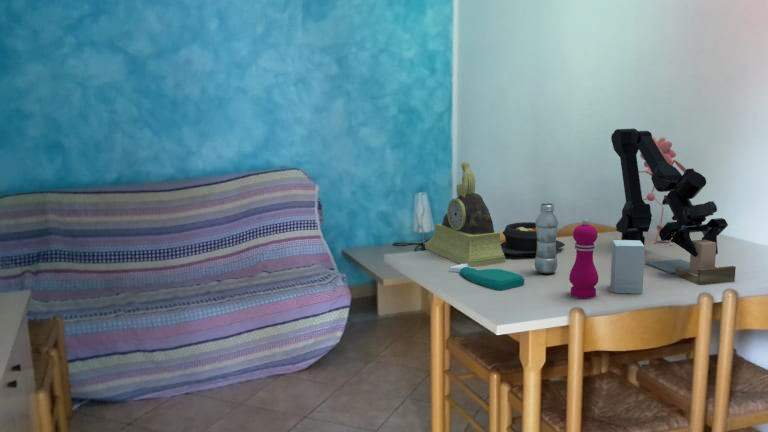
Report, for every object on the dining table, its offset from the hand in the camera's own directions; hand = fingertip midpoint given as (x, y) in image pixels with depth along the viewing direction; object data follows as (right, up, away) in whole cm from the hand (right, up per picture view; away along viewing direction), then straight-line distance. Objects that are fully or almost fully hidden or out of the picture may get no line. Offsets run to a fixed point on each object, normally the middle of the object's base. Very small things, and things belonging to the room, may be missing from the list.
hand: (706, 255), depth 192 cm
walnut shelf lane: (0, -6, +1) cm, 7 cm away
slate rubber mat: (-3, -4, +13) cm, 14 cm away
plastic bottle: (-42, -6, +10) cm, 43 cm away
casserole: (-41, -1, +35) cm, 54 cm away
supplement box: (-24, -9, -7) cm, 27 cm away
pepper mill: (-37, -10, -11) cm, 40 cm away
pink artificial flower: (+5, +3, +50) cm, 50 cm away
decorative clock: (-63, -2, +33) cm, 71 cm away
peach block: (0, -6, +3) cm, 7 cm away
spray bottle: (-60, -7, +6) cm, 61 cm away
